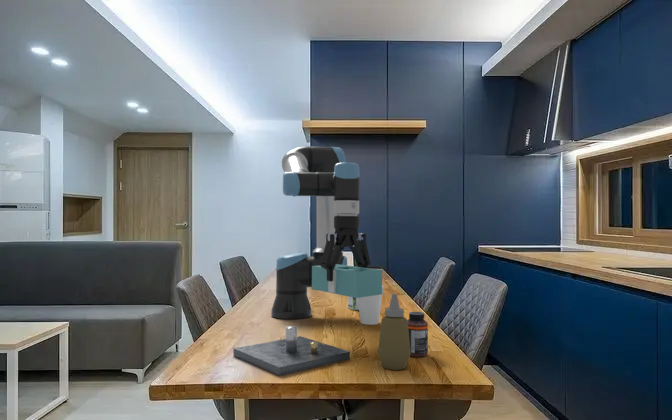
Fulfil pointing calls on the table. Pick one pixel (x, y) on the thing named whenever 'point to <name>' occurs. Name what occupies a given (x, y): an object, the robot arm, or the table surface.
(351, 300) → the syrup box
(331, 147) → the robot arm
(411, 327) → the supplement bottle
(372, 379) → the table surface
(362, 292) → the teal block with holes
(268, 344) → the base
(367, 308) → the foam cup
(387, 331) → the squeeze bottle
